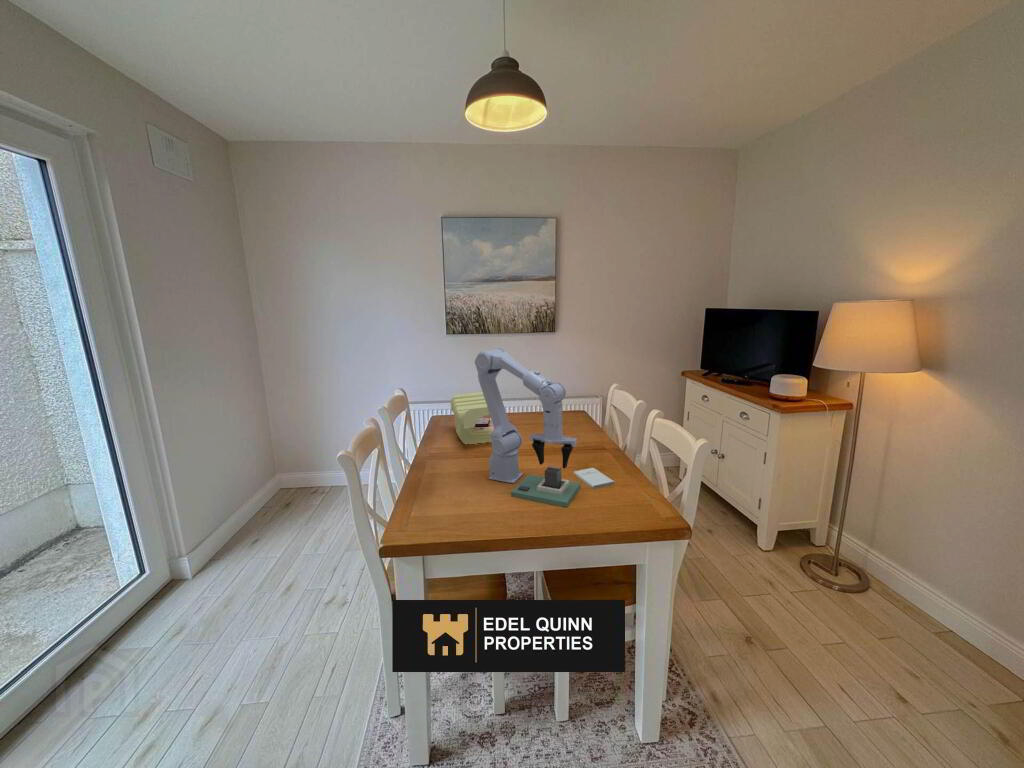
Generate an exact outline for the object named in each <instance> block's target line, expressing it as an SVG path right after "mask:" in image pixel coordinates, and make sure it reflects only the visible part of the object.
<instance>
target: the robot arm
mask: <svg viewBox="0 0 1024 768" xmlns="http://www.w3.org/2000/svg"><path fill="white" fill-rule="evenodd" d="M474 365H475V367H476V370H477V379H478V382H479V386H480V388H481V392H483V395H484V398H485V401H486V404H487V407H488V410H489V414H490V415H489V416H490V419H491V422H492V423H491V424H492V425H493V429H492V430H491V431H492V433H491V435H490V437H491V440H492V442H491V449H492V452H491V453H490V456H489V463H488V464H489V465H488V466H489V477H488V479H489V480H493V481H498V482H504V483H508V484H515V483H516V482H517V481H518V480H519V479H520V478H521V477H523V475H524V473H523V472H519V451H520V447H521V446H522V444H523V438H522V436H521V434H520V433H519V431H518V429H517V426H516V425H514V424H513V423H511V422H510V419H509V417H508V413H507V410H506V408H505V405H504V402H503V399H502V395H501V392H500V389H499V386H498V383H497V380H496V378H497V377H498V374H500V372H501V371H502V370H505V371H507V372H509V373H511V374H512V375H513V376H514V377H517V378H519V379H520V380H522V384H523V386H524V387H525V388H527V389H528V390H530V392H532V393H534V394H535V395H537V396H538V398H539V401H540V402H541V407H542V415H543V416H542V417H543V421H542V422H543V423H542V427H543V429H542V430H543V433H533V432H532V433H531V434H530V435H529V440H530V441H529V442H532V444H531V447H532V448H533V450H534V452H535V454H536V456H537V459H538V462H539V465H543V464H544V463H545V444H556V445H557V444H558V445H563V446H562V447H561V449H560V450H561V454H562V455H561V456H562V468H563V469H566V468H567V466H568V464H569V463H568V462H569V459H570V455H571V453H572V451H573V449H574V448H575V447H576V446H577V444H578V441H577V438H574V437H570V436H566V435H563V400H565V398H566V396H567V395H566V394H567V393H566V389H565V386H563V384H561V383H560V382H552V380H551V379H550V378H549V379H548V378H546V377H545V376H543V375H542V374H541V371H540V370H535V369H534V370H530V371H529V370H528V369H527V368H526V367H525V366H523V365H522V364H520V362H518V361H517V360H516V359H514V358H513V357H512V356H511V355H510V353H509V352H508V351H506V350H504V349H503V348H496V349H491V350H486V351H484V350H482V351H479V352H478V353H477V355H476V358H475V359H474Z"/></svg>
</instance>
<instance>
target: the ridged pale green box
mask: <svg viewBox="0 0 1024 768" xmlns="http://www.w3.org/2000/svg"><path fill="white" fill-rule="evenodd" d="M450 409H451V410H450V411H452V413H453V416H454V424H455V431H456V434H457V436H458V437H459V439H460V440H461V442H462V443H463V444H464V445H466V446H468V445H467V444H475V445H478V444H477V443H482V444H487V443H486V442H489V443H492V440H491V437H490V435H491V433H492V431H493V430H492V429H478V430H474V428H475V427H476V423H477V422H478V420H480V419H481V418H484V417H489V416H490V414H489V410H488V407H487V404H486V401H485V398H484V395H483V392H482V391H476V392H468V393H467V392H465V393H458V394H455V395H453V396H452V397H451V400H450ZM472 428H473V429H472Z"/></svg>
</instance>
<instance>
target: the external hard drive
mask: <svg viewBox="0 0 1024 768" xmlns="http://www.w3.org/2000/svg"><path fill="white" fill-rule="evenodd" d="M573 475H574V476H575V475H576V476H575V477H577V478H579V480H581V482H583V483H585V484H586V485H587V486H588V487H590V488H591V489H592V490H593V489H595V490H596V489H598V488H603V487H607V486H612V485H615V481H614V480H612V479H611V478H610V477H608V476H607V475H605V474H604V473H602V472H600V471H599V470H598V469H596V468H594V467H590V468H585V469H580V470H574V471H573Z"/></svg>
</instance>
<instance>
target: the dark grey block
mask: <svg viewBox="0 0 1024 768" xmlns="http://www.w3.org/2000/svg"><path fill="white" fill-rule="evenodd" d="M544 477H545V487H550V488H555V489H559V488H560V487H561V479H562V467H556V466H551V465H548V467H547V468H546V469H545V470H544Z"/></svg>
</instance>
